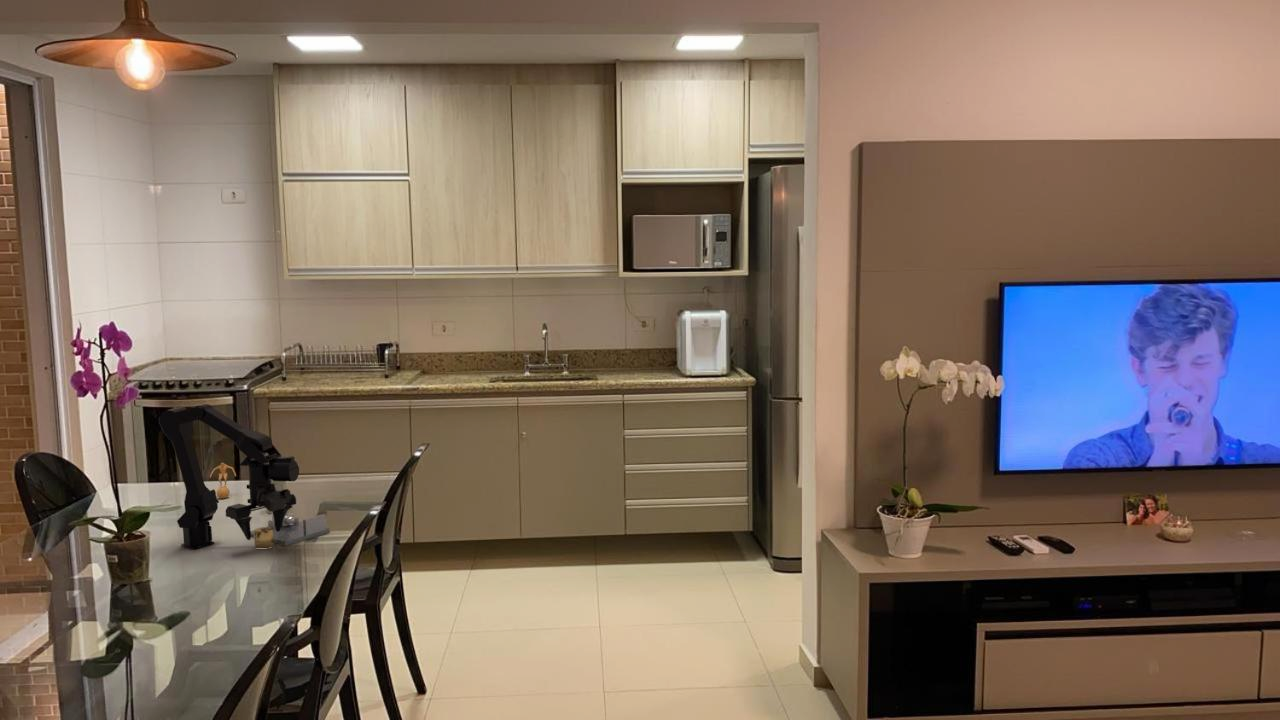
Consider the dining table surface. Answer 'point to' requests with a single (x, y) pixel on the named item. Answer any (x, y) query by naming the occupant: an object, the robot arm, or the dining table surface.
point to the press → (299, 530)
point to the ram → (287, 519)
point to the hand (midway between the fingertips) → (263, 535)
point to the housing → (264, 537)
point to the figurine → (222, 491)
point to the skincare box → (277, 489)
